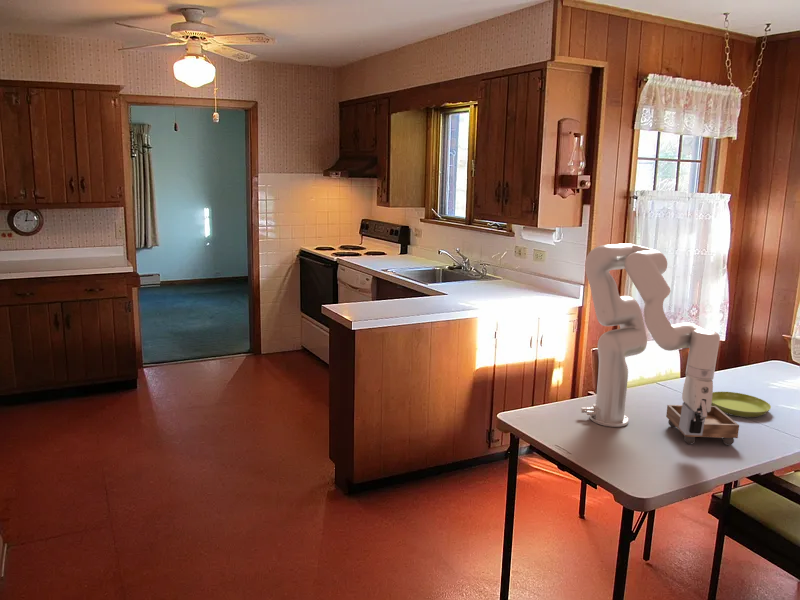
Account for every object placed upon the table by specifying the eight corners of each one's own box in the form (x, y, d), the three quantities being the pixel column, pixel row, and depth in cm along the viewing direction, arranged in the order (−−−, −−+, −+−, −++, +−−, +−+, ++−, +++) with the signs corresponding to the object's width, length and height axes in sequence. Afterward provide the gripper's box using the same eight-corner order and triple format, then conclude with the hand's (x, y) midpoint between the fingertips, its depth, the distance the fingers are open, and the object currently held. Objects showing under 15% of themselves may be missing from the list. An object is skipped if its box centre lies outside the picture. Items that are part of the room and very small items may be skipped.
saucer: (778, 423, 221) (779, 414, 220) (713, 417, 225) (715, 408, 224) (758, 401, 241) (759, 393, 240) (699, 396, 245) (700, 388, 244)
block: (685, 434, 191) (689, 409, 189) (678, 427, 196) (682, 402, 194) (702, 435, 191) (706, 410, 189) (695, 428, 196) (699, 403, 194)
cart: (684, 445, 201) (687, 423, 200) (665, 424, 217) (667, 404, 215) (736, 446, 201) (739, 425, 199) (713, 426, 217) (715, 406, 215)
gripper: (726, 382, 181) (716, 442, 185) (700, 362, 197) (691, 417, 202) (699, 381, 181) (689, 440, 185) (675, 361, 197) (667, 416, 202)
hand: (690, 428), depth 194 cm, fingers closed on block, 5 cm apart
